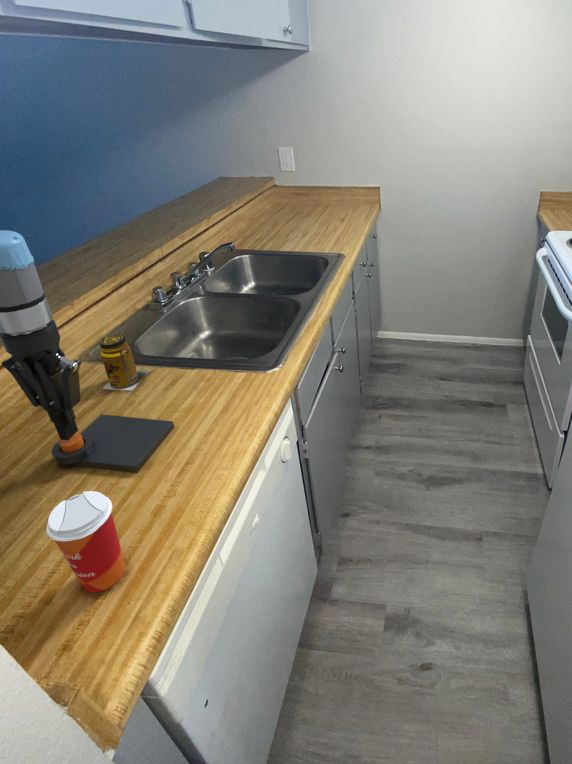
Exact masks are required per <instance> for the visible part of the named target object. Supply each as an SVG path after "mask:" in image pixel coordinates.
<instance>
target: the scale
mask: <svg viewBox="0 0 572 764" xmlns="http://www.w3.org/2000/svg"><path fill="white" fill-rule="evenodd" d="M173 421H174V420H162V419H155V418H154V419H153V418H142V417H134V416H133V417H131V416H122V415H113V414H112V415H111V414H102V413H101V414H100V415H99V416H98V417H97V418H96V419H95V420H93V422H92V423H90V424H89V425H88V426H87V427H86V428H85V429H84V431H82V432H78V433H79V434H81V435H82V438H83V441H84V445H83V446H82V447H81V448H80V449H78V450H76V451H74V452H70V453H64V452H63V451H62V449H61V447H60V444H59V442H60V440H59V441H57V443H55V444H54V445H53V446H52V450H51V455H52V457H53V460H54V461H55V462H56V463H57V465H59V466H68V467H78V468H86V469H96V470H103V471H104V470H105V471H106V470H107V471H115V472H124V473H132V474H138V473H139V472H140V471H141V470H142V469H143V467H144V466H145V465H146V464H147V463H148V461H149V460H150V458H151V457H152V456H153V455H154V454H155V452H156V451H157V450H158V448H159V447H160V446H161V445H162V443H163V442H164V441H165V440H166V438H167V437H168V436H169V435H170V433H171V432H172V431H173V430H174V428H175V424H174V422H173Z"/></svg>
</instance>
